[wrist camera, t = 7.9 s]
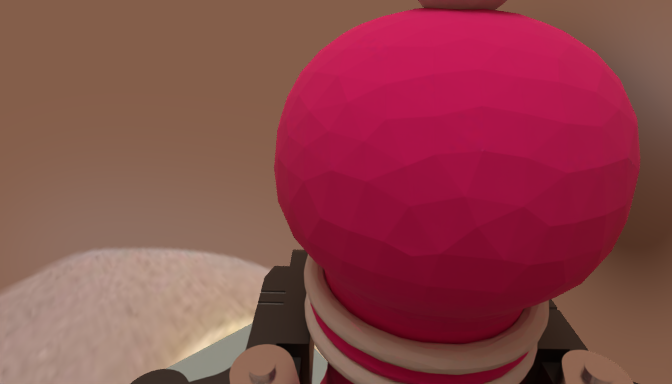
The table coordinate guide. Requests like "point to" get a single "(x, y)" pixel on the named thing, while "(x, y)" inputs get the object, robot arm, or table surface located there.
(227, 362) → the board
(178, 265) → the table surface
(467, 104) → the pepper mill
